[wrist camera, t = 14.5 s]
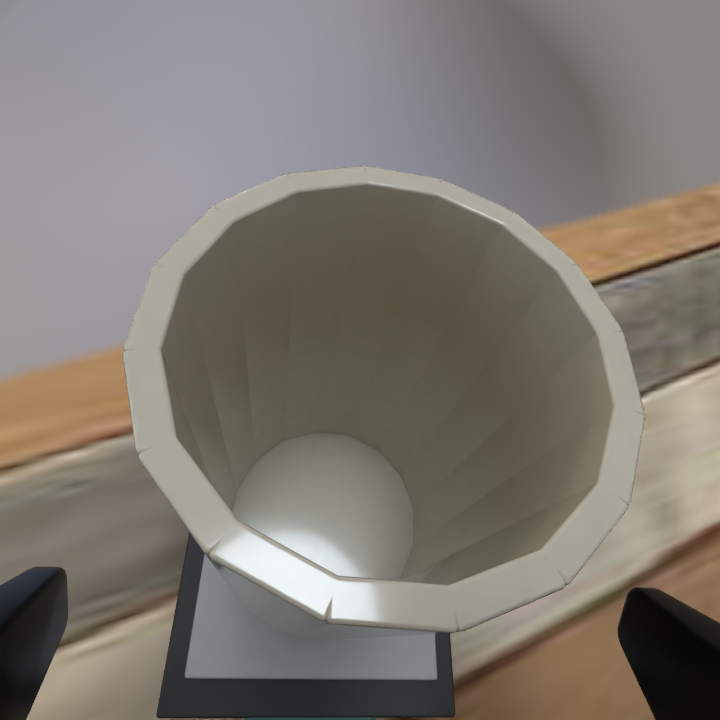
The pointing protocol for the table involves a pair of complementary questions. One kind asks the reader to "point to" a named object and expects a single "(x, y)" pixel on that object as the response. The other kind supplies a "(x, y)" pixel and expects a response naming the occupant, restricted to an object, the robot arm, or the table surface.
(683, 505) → the table surface
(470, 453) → the tumbler
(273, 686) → the scale
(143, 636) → the table surface
